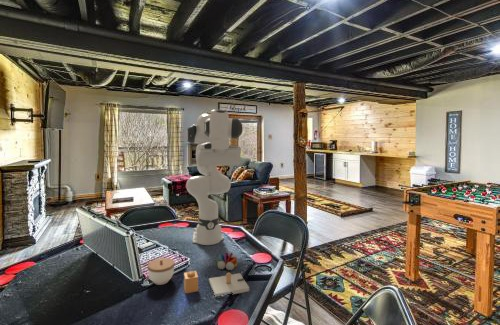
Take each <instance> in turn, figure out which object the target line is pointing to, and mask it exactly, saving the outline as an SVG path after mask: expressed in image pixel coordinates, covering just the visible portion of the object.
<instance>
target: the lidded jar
mask: <svg viewBox="0 0 500 325" xmlns="http://www.w3.org/2000/svg"><path fill="white" fill-rule="evenodd" d="M147 269H148V270H147V274H148V277H149V279H150V280H151V281H152V282H153V283H154V284H155V285H156V286H157V285H158V286H161V285H165V284H167V283H168V282H169V281H170V280H171V278H173V276H174V272H175V260H174V259H172V258H170V257H160V258H155V259H153V260H151V261H150V262H148V264H147Z"/></svg>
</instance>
